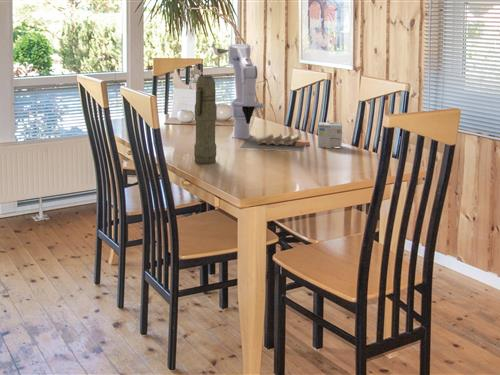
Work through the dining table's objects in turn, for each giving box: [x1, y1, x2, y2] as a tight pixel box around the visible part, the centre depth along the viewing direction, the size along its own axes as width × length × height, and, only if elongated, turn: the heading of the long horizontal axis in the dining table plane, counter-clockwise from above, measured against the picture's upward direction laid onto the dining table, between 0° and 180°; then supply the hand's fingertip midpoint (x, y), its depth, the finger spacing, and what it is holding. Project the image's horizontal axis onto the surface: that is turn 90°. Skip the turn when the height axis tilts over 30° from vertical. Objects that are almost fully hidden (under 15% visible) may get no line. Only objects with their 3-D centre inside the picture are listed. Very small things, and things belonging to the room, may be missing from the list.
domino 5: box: [291, 139, 311, 146], centre depth 353 cm, size 2×5×7 cm
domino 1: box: [256, 133, 274, 145], centre depth 353 cm, size 2×5×7 cm
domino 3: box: [275, 133, 292, 145], centre depth 352 cm, size 2×5×7 cm
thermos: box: [193, 74, 218, 165], centre depth 314 cm, size 9×12×35 cm
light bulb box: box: [317, 121, 343, 149], centre depth 350 cm, size 11×7×11 cm, turn 84°
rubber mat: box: [239, 139, 305, 152], centre depth 351 cm, size 18×28×1 cm, turn 82°
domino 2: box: [266, 133, 283, 145], centre depth 352 cm, size 2×5×7 cm
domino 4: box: [284, 133, 301, 146], centre depth 351 cm, size 2×5×7 cm
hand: (248, 123), depth 352 cm, fingers closed
